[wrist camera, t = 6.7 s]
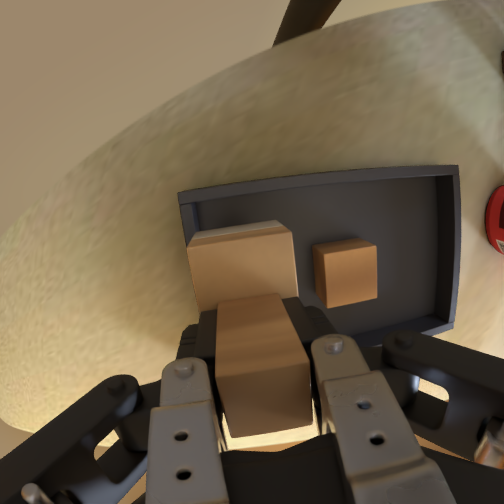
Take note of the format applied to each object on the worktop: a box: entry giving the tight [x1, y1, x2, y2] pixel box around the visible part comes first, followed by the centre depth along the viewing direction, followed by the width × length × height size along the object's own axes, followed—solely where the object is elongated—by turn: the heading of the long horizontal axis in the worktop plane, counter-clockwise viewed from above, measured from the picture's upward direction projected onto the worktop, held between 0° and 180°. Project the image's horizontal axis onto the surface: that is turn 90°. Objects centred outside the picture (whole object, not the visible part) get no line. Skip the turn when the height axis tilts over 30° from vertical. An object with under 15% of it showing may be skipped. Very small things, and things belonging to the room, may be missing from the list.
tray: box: [177, 165, 461, 347], centre depth 23 cm, size 15×22×3 cm
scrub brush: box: [186, 220, 313, 438], centre depth 12 cm, size 7×4×9 cm, turn 8°
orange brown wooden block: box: [312, 238, 377, 308], centre depth 22 cm, size 4×4×3 cm
